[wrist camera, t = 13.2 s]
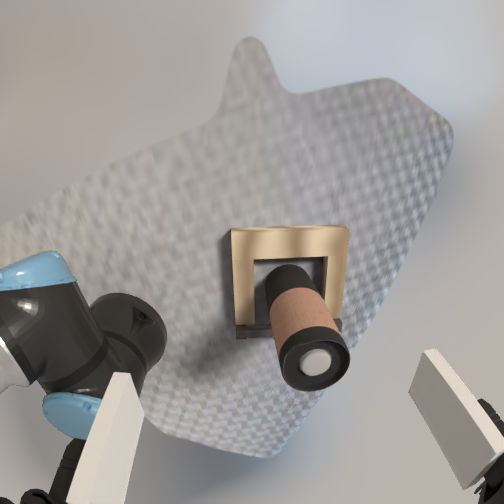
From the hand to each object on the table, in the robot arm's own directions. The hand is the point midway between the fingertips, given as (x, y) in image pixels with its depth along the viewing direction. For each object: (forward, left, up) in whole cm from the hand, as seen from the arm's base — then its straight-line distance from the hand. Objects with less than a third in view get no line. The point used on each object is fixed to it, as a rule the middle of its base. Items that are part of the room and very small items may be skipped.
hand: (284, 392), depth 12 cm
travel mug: (+6, -12, -35) cm, 37 cm away
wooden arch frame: (+6, -11, -35) cm, 37 cm away
